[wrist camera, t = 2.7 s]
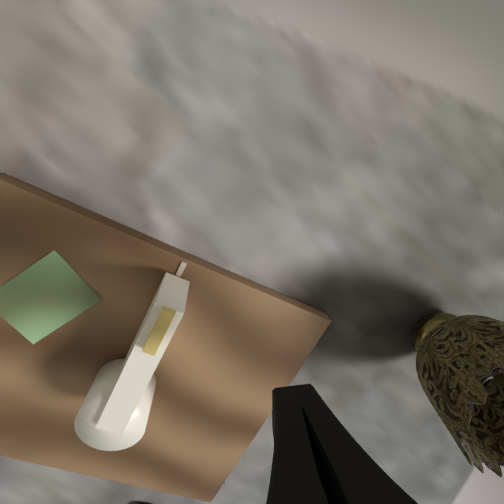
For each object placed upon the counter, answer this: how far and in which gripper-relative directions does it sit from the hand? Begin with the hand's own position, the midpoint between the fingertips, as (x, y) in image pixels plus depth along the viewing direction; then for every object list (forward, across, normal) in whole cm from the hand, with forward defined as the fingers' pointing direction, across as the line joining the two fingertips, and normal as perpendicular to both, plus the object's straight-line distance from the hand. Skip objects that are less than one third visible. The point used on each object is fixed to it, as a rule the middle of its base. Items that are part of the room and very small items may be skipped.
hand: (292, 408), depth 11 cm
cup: (+10, -12, +5) cm, 17 cm away
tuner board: (+10, +9, +5) cm, 14 cm away
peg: (+8, +7, +3) cm, 11 cm away
